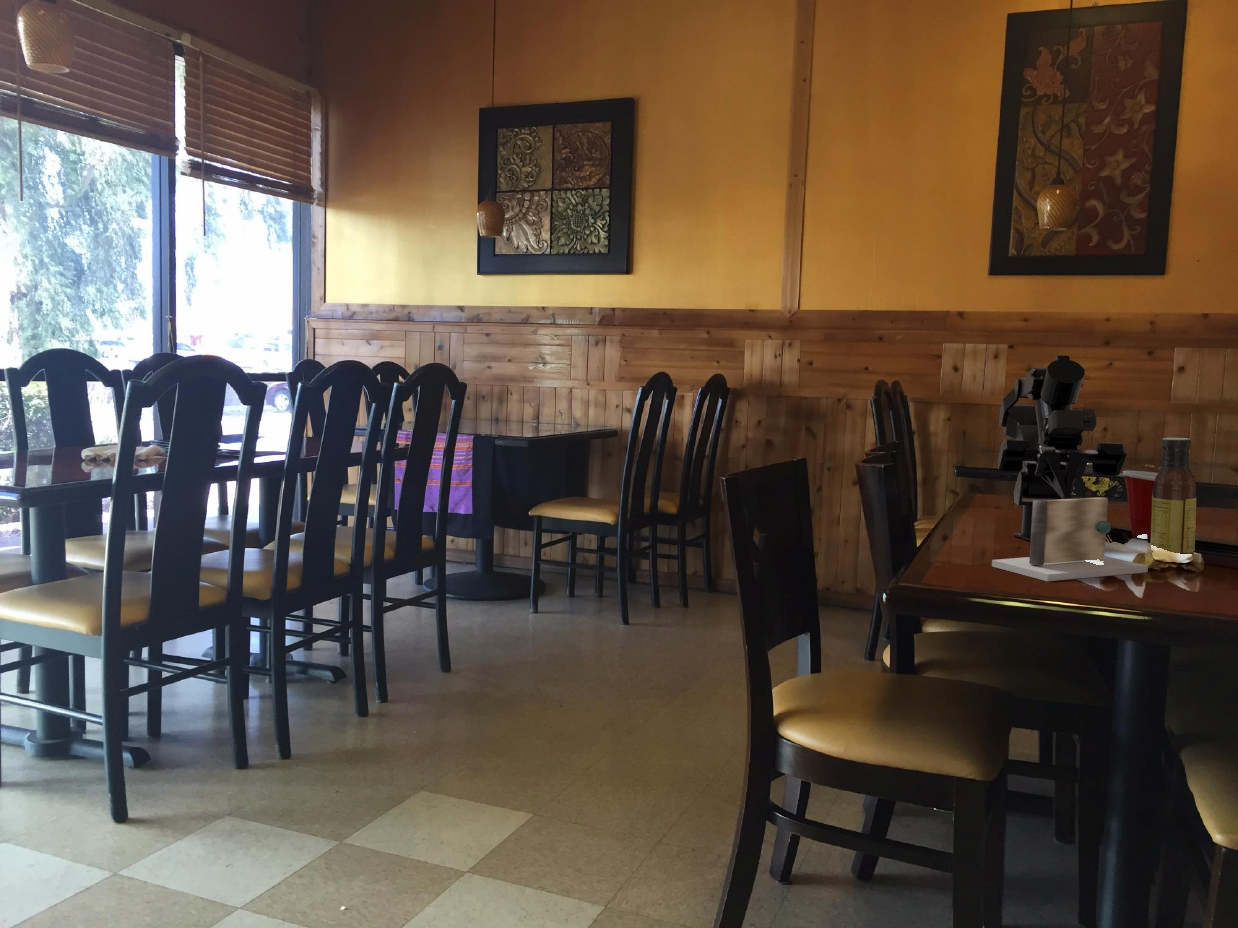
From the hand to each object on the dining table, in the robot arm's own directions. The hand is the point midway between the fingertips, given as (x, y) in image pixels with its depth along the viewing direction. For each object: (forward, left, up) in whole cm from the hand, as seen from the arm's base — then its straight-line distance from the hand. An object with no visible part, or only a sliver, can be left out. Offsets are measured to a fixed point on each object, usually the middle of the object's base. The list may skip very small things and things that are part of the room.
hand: (1066, 497), depth 157 cm
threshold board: (+7, -3, -10) cm, 13 cm away
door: (+8, -3, -9) cm, 12 cm away
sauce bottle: (+2, +18, -10) cm, 21 cm away
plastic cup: (-18, +29, -10) cm, 36 cm away
